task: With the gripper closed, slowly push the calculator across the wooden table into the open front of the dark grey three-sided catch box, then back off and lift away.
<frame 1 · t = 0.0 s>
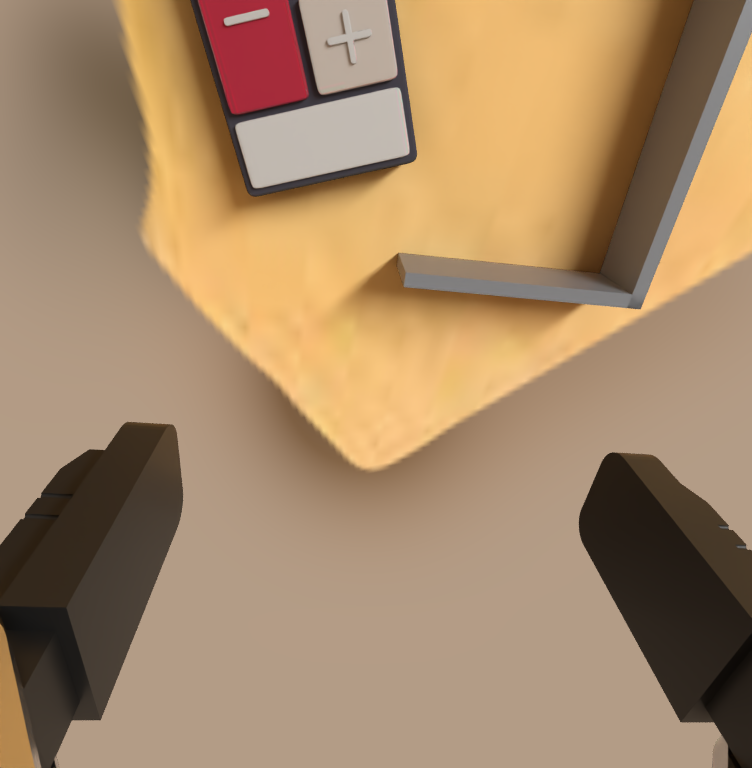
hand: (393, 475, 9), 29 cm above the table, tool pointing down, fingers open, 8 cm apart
catch box: (552, 81, 31), on the table
calculator: (306, 47, 30), on the table
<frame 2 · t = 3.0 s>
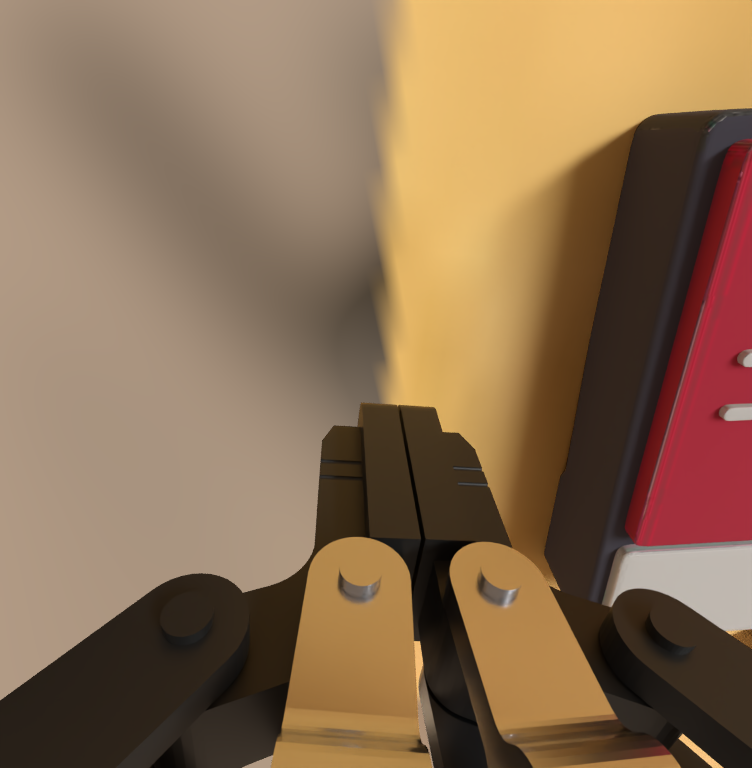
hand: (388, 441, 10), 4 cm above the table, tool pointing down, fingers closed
calculator: (739, 374, 16), on the table
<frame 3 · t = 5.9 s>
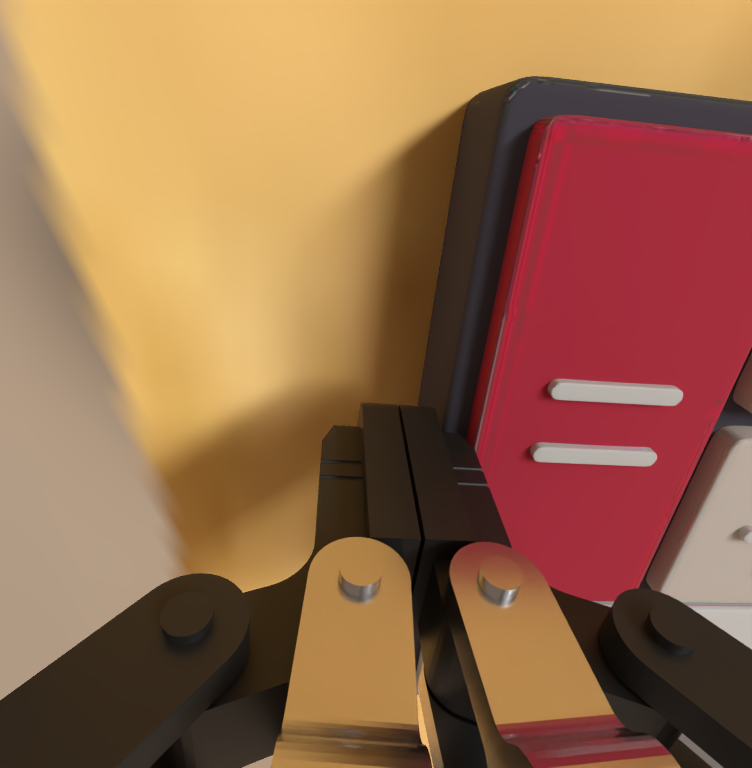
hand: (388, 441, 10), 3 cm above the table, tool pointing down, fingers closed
calculator: (600, 410, 14), on the table, touching gripper
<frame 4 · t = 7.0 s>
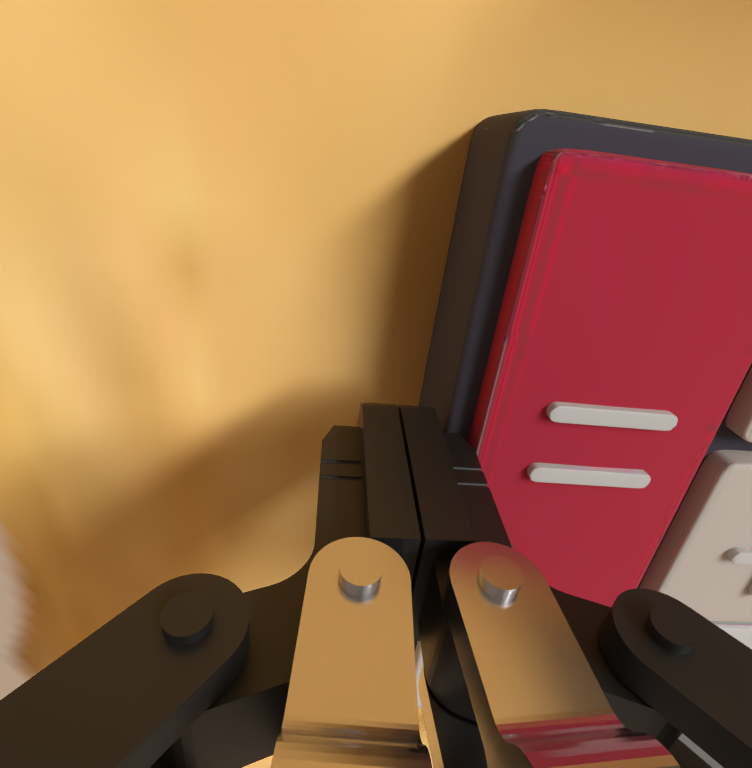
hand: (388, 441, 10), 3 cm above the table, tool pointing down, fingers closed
calculator: (595, 428, 14), on the table
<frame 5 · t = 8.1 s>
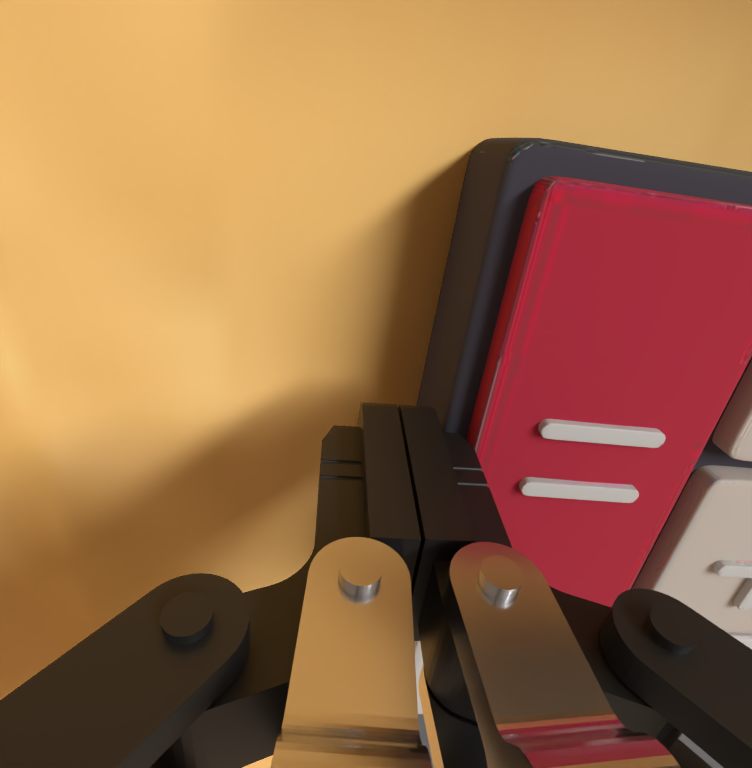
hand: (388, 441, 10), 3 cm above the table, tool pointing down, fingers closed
calculator: (587, 439, 14), on the table, touching gripper
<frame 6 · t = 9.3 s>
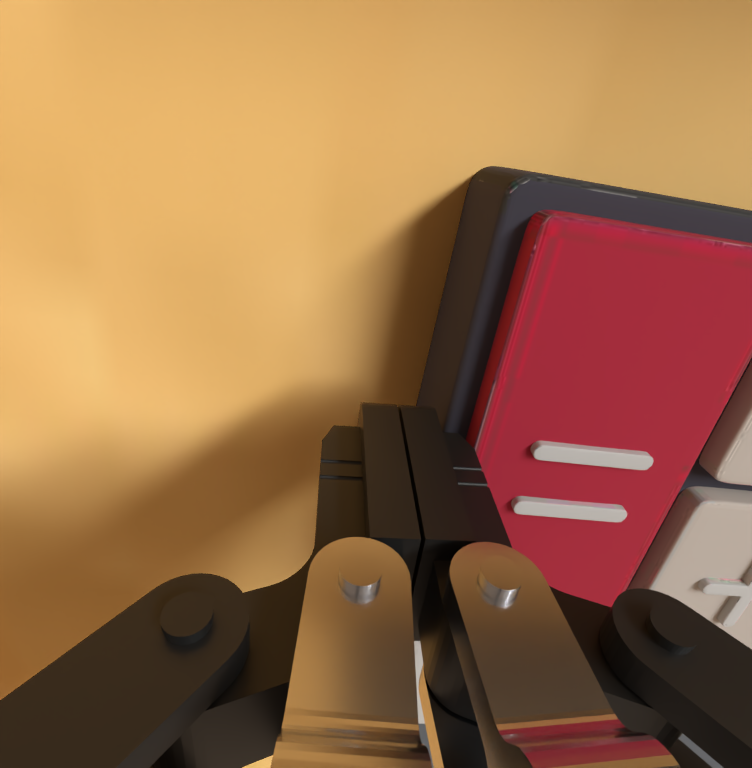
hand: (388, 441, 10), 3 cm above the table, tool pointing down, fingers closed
catch box: (681, 401, 13), on the table
calculator: (579, 455, 15), on the table
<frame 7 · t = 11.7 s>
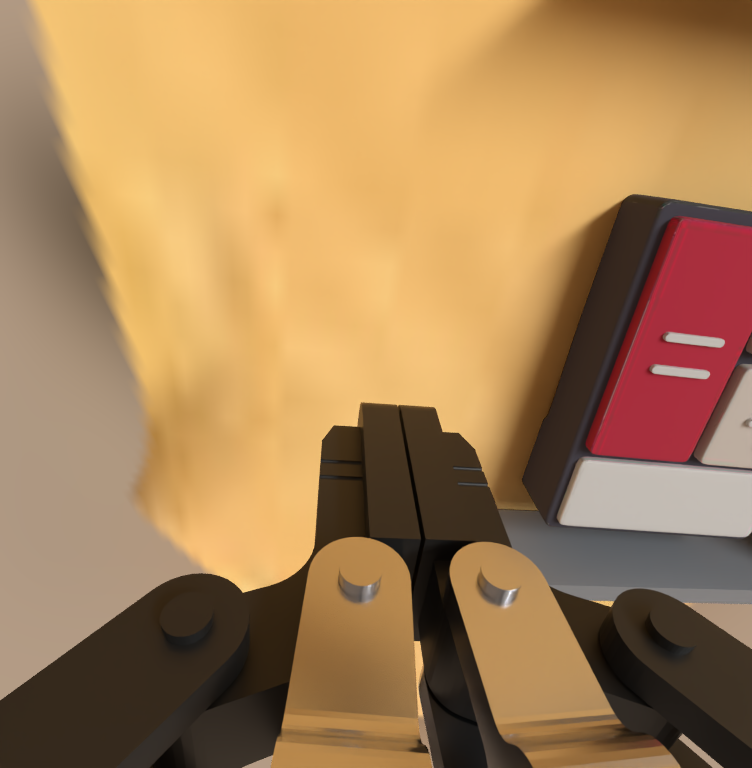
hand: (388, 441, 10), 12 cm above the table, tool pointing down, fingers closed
catch box: (716, 317, 22), on the table
calculator: (664, 366, 24), on the table
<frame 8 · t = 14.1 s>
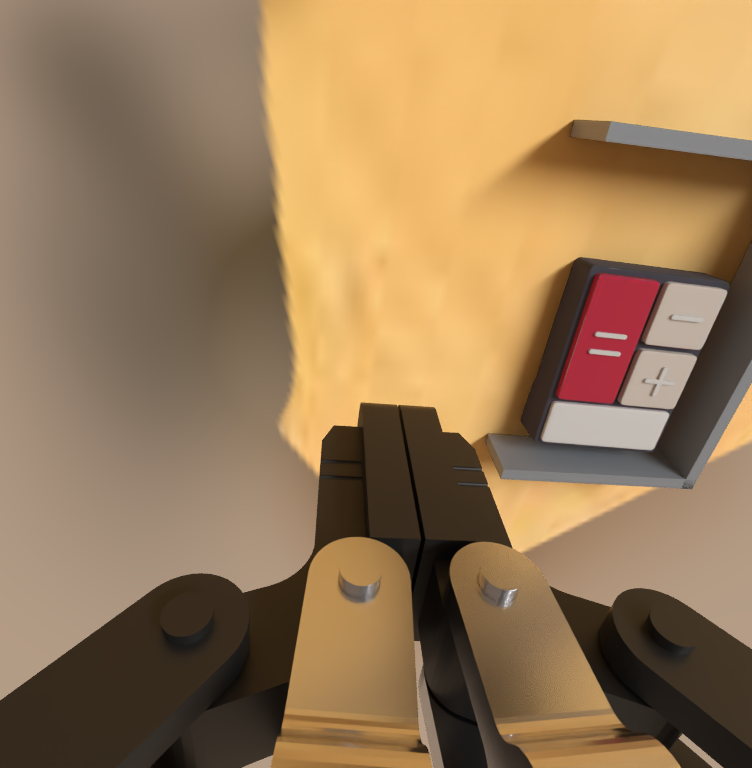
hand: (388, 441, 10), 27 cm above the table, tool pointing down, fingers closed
catch box: (624, 317, 39), on the table
calculator: (604, 350, 41), on the table
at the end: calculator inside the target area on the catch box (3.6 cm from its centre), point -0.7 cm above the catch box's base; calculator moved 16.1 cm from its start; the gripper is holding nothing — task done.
